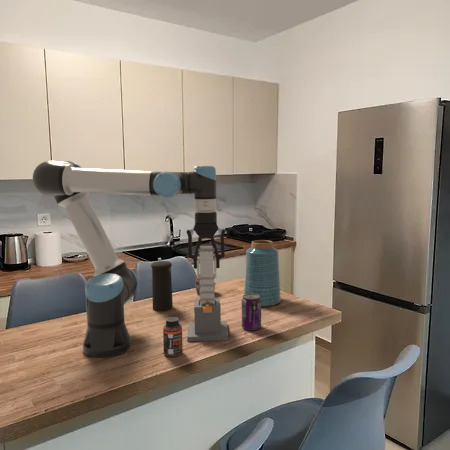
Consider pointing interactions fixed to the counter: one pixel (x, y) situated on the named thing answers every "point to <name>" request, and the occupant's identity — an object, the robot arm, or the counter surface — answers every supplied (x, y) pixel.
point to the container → (161, 285)
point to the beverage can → (251, 311)
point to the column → (206, 276)
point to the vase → (263, 272)
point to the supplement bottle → (172, 337)
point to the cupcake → (198, 286)
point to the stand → (207, 323)
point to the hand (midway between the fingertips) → (206, 277)
